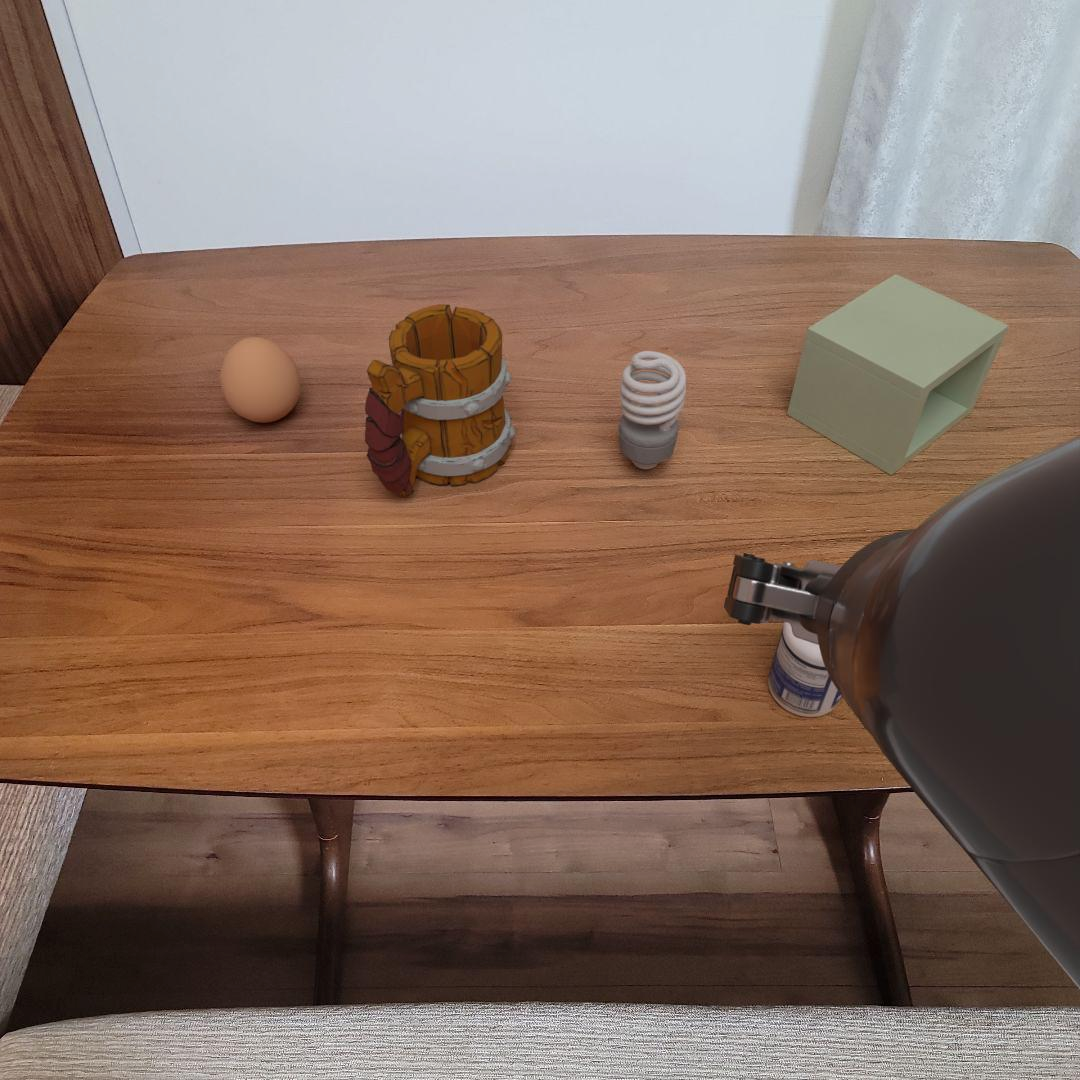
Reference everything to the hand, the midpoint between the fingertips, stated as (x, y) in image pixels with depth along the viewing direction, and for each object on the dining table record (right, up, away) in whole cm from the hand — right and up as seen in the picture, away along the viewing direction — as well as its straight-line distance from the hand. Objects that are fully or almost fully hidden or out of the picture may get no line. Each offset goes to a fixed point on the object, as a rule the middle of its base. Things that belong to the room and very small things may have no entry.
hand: (875, 608), depth 45 cm
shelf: (+17, +16, +46) cm, 52 cm away
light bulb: (-7, +10, +41) cm, 43 cm away
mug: (-26, +10, +41) cm, 50 cm away
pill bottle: (+3, -8, +24) cm, 26 cm away
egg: (-43, +15, +46) cm, 65 cm away
